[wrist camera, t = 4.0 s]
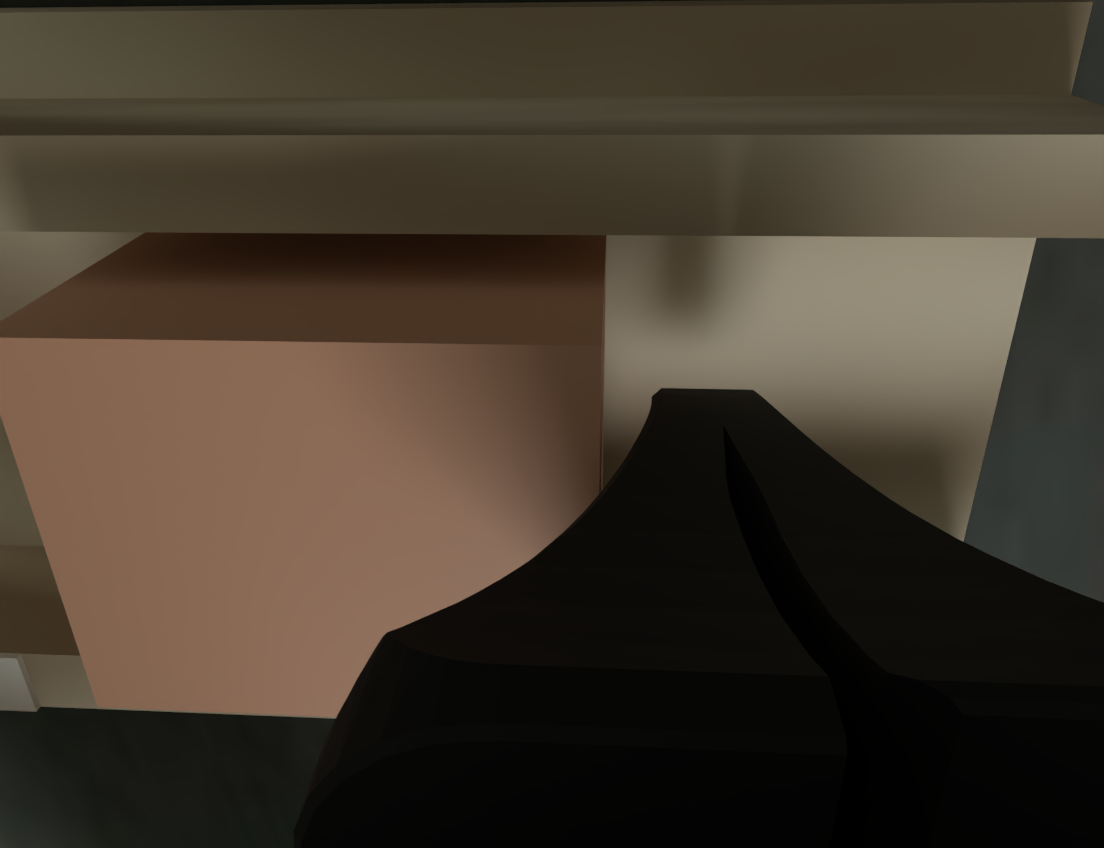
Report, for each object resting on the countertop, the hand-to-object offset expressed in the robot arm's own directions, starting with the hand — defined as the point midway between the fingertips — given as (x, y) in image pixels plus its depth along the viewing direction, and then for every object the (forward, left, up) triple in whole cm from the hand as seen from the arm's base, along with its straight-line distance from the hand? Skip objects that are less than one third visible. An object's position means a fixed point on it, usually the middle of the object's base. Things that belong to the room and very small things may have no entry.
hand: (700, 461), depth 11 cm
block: (0, +4, -2) cm, 5 cm away
